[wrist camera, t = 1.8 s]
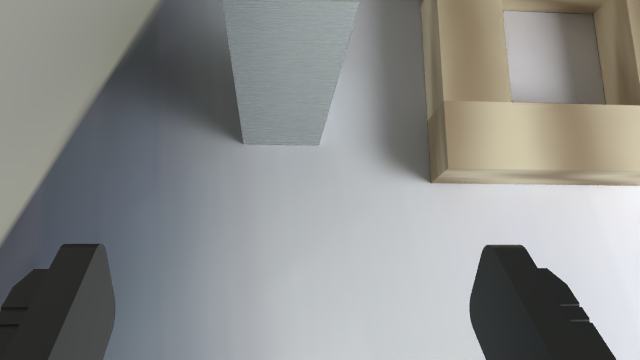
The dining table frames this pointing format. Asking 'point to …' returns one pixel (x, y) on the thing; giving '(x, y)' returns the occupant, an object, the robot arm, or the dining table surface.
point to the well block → (527, 118)
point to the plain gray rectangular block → (286, 65)
